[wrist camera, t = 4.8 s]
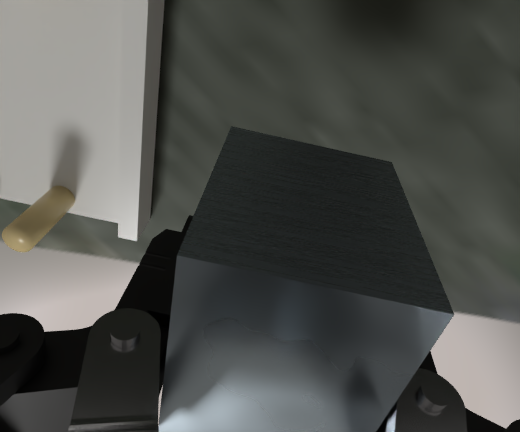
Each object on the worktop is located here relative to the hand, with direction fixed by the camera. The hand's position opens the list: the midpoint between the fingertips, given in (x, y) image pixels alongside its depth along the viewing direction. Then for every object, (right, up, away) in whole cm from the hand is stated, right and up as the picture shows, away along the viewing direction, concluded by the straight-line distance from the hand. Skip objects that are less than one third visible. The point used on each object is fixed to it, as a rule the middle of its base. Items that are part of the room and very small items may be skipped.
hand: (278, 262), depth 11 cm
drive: (0, 0, 0) cm, 0 cm away
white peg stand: (-10, +7, +8) cm, 15 cm away
